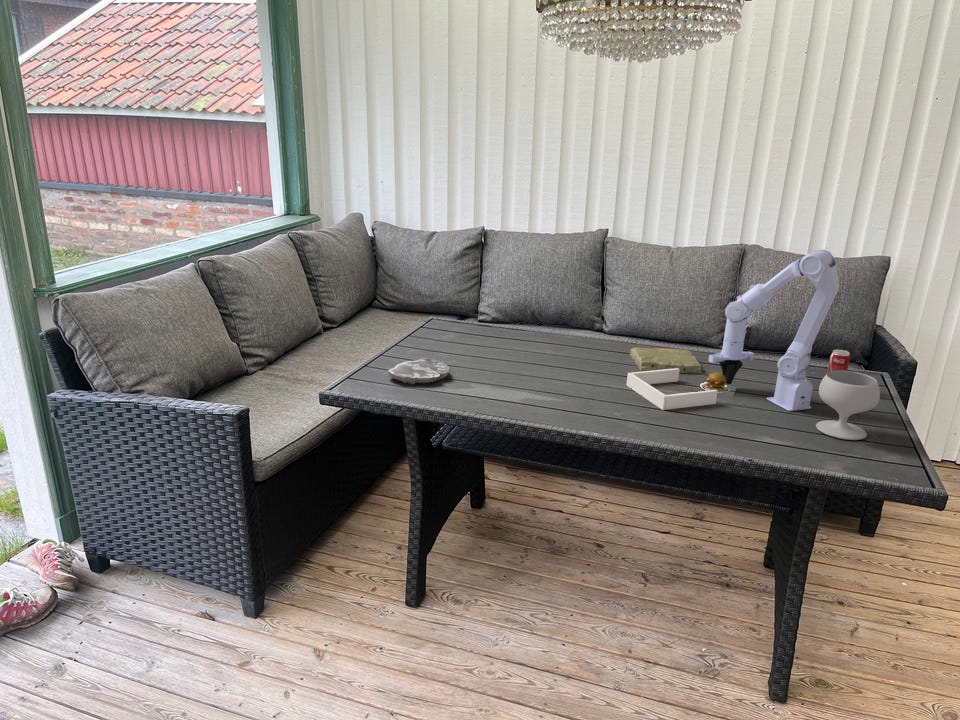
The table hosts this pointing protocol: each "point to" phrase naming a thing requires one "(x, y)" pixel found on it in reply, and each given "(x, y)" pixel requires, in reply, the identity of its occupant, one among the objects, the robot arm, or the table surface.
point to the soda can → (839, 360)
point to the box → (665, 402)
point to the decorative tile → (665, 359)
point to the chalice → (847, 401)
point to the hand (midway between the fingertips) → (727, 383)
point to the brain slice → (420, 371)
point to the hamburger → (715, 383)
